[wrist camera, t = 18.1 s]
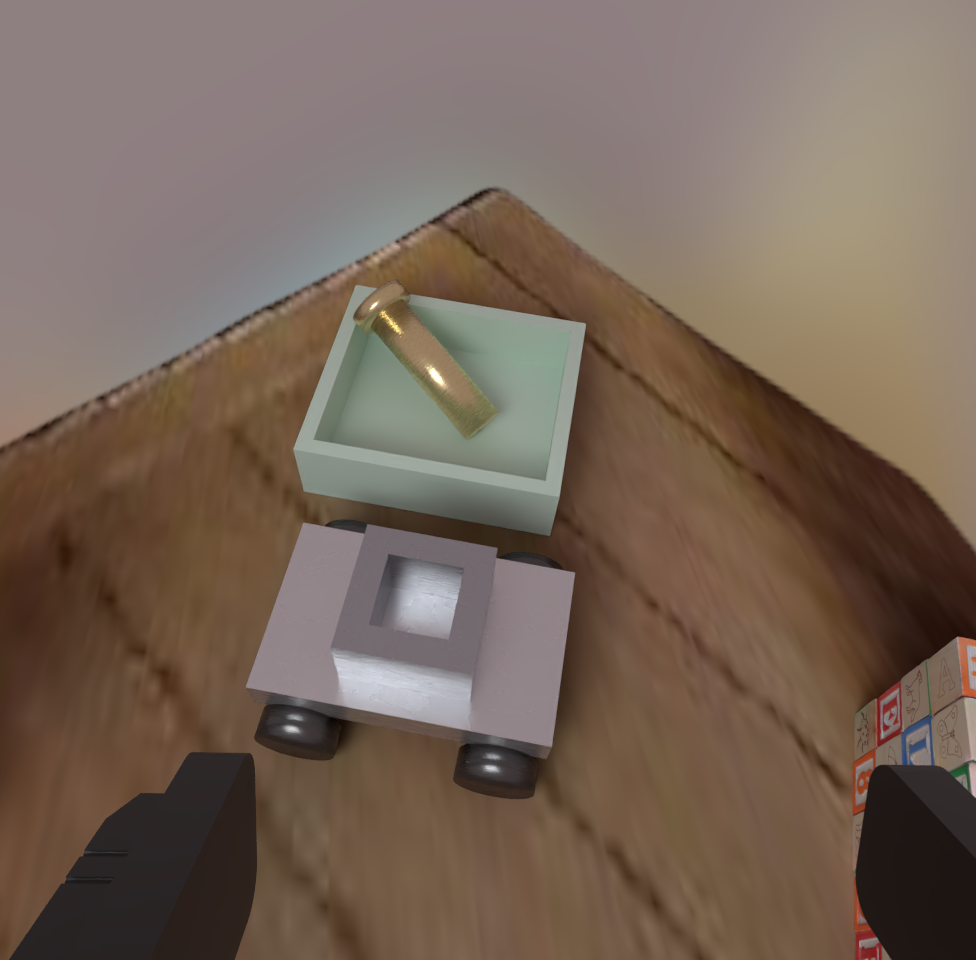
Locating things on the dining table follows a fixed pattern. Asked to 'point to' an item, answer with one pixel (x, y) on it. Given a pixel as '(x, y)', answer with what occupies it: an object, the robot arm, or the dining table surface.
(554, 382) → the tray
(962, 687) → the stack of blocks
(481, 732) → the trolley
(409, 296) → the pin
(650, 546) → the dining table surface
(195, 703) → the dining table surface
